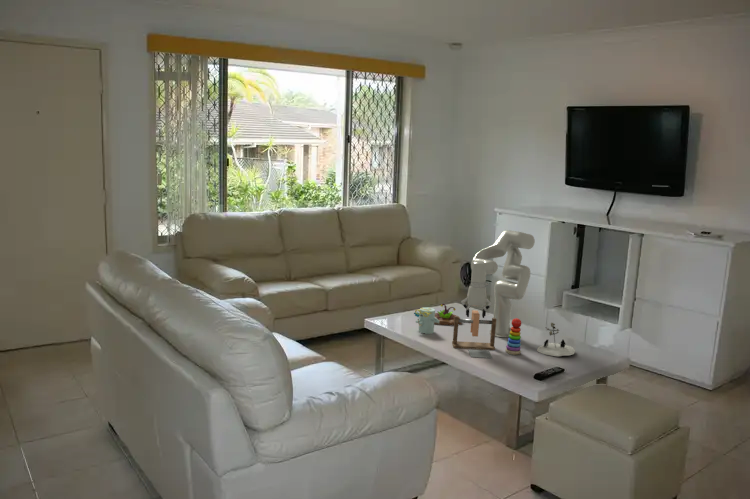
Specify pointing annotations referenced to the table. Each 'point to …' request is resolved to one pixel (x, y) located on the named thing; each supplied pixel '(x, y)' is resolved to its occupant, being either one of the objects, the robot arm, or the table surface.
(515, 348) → the stacking toy
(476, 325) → the tall peach block
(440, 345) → the table surface
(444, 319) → the plant
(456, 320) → the rack
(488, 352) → the mat
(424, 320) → the character sculpture
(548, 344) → the figurine
